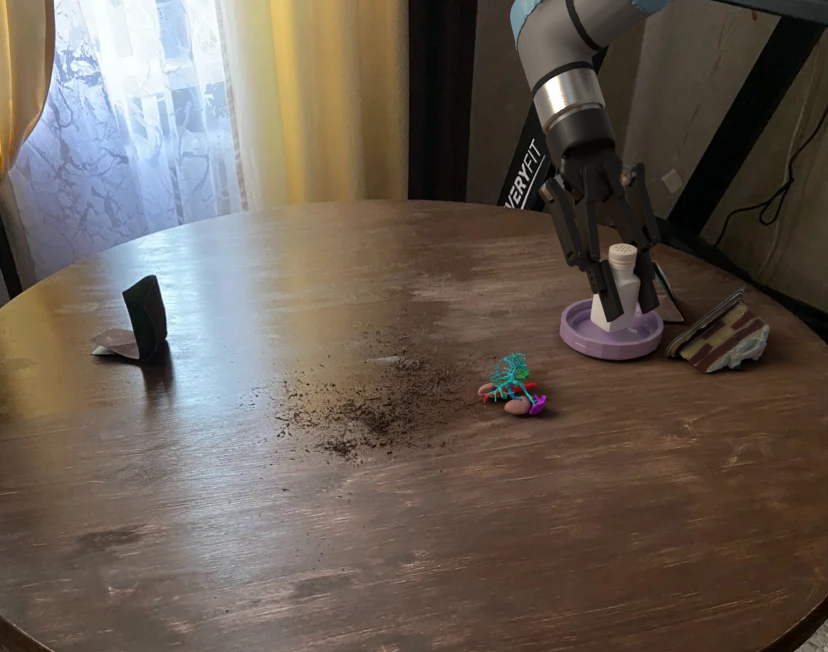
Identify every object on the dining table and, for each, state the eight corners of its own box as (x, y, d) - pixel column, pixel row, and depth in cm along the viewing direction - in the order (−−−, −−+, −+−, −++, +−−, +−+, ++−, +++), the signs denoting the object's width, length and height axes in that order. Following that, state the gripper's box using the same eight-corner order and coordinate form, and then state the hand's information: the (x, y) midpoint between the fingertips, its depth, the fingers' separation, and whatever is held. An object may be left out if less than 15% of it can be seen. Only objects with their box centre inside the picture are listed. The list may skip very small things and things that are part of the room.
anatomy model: (497, 394, 86) (554, 372, 87) (461, 359, 91) (515, 339, 93) (500, 434, 89) (555, 412, 91) (465, 398, 95) (517, 378, 96)
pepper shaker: (608, 335, 100) (620, 258, 94) (587, 321, 103) (598, 246, 97) (634, 327, 102) (648, 251, 95) (613, 314, 104) (626, 239, 98)
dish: (657, 319, 107) (661, 301, 106) (661, 368, 98) (665, 348, 97) (561, 312, 109) (563, 294, 107) (556, 359, 100) (558, 340, 98)
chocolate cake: (703, 390, 95) (787, 310, 92) (660, 350, 98) (741, 271, 95) (715, 409, 104) (794, 337, 100) (676, 372, 106) (751, 301, 103)
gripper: (620, 131, 104) (675, 311, 104) (497, 150, 99) (555, 339, 99) (654, 95, 97) (713, 288, 97) (523, 113, 92) (585, 317, 92)
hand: (633, 313), depth 98 cm, fingers closed on pepper shaker, 4 cm apart
